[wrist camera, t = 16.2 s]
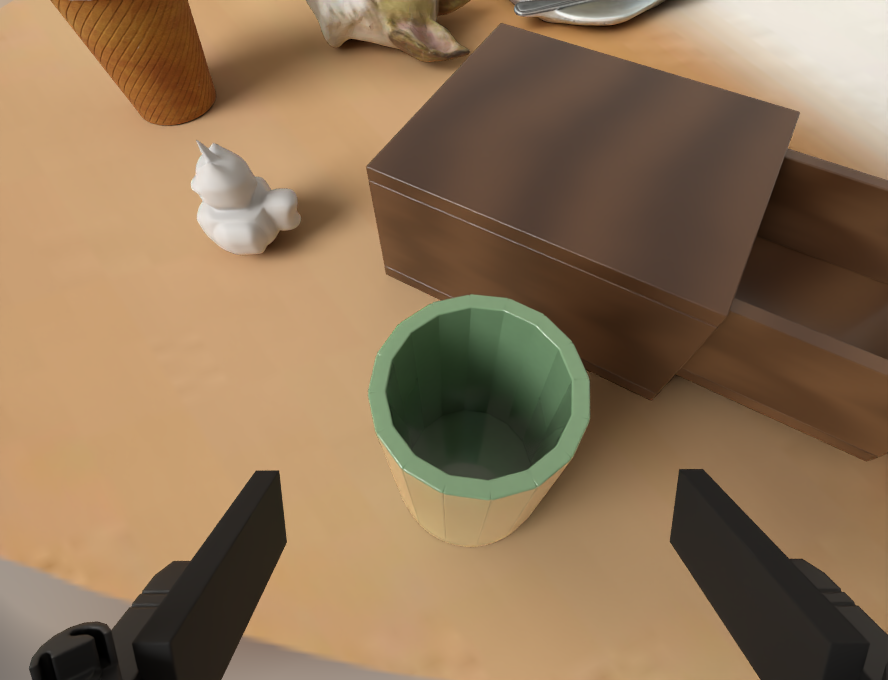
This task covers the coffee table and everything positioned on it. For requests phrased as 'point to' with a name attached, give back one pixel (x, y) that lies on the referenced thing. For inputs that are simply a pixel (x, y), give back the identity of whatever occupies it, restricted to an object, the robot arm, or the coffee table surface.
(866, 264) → the drawer
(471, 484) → the pot
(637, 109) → the cabinet
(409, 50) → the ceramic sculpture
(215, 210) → the white animal figurine
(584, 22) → the avocado toast plate
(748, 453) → the coffee table surface
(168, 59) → the disposable coffee cup
